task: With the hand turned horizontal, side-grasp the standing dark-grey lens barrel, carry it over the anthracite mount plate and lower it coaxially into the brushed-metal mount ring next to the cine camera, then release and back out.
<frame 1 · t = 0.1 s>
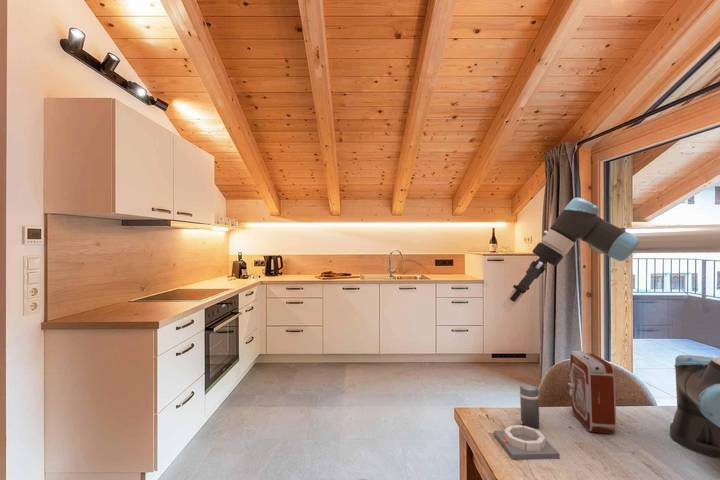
hand: (507, 306, 107), 36 cm above the table, tool tilted 35°, fingers open, 13 cm apart
mount plate: (524, 445, 95), on the table
lens: (530, 425, 106), on the table
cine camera: (589, 420, 110), on the table
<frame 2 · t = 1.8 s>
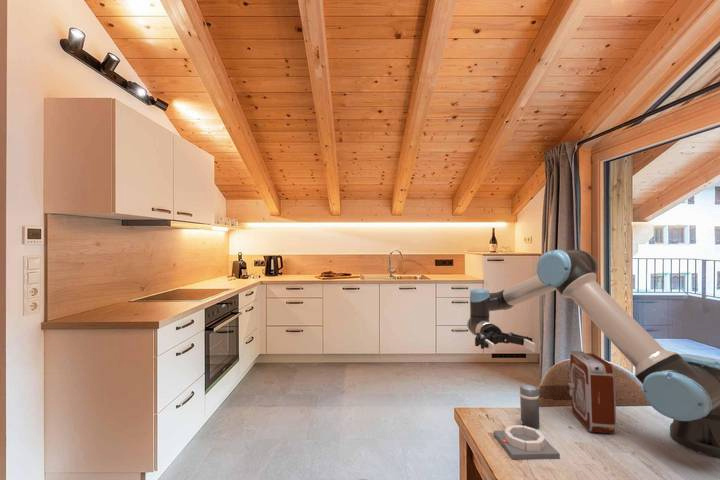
hand: (514, 348, 116), 21 cm above the table, tool horizontal, fingers open, 13 cm apart
nothing on the table moved.
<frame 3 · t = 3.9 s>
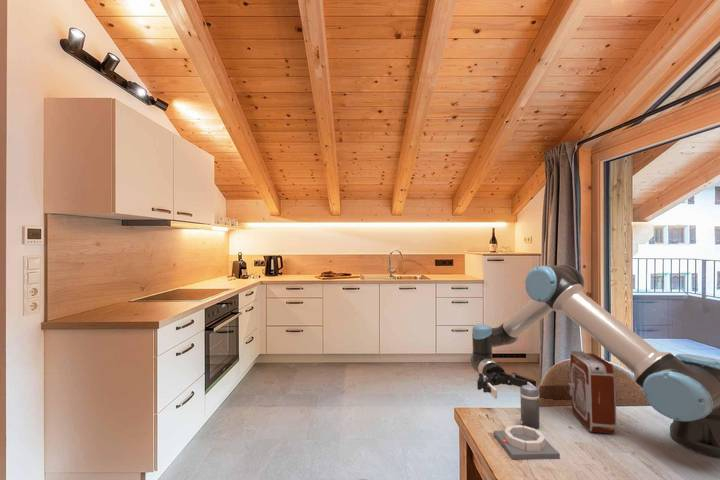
hand: (517, 394, 114), 6 cm above the table, tool horizontal, fingers open, 13 cm apart
nothing on the table moved.
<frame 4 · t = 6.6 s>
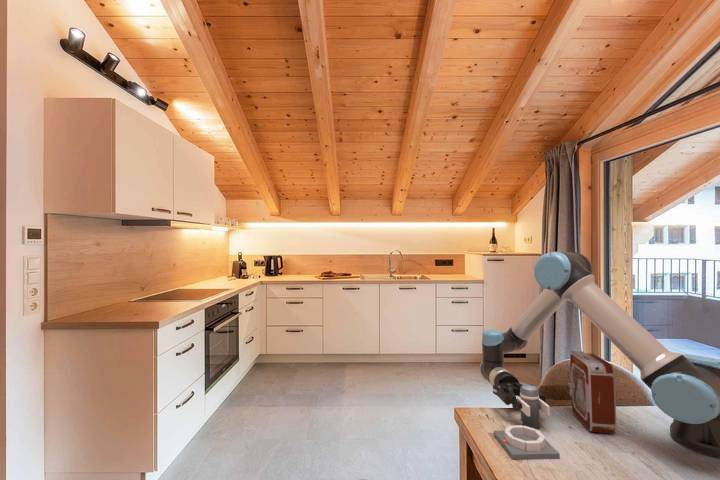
hand: (538, 411, 101), 7 cm above the table, tool horizontal, fingers closed on lens, 5 cm apart
lens: (530, 425, 106), on the table, touching gripper
everything else where it was.
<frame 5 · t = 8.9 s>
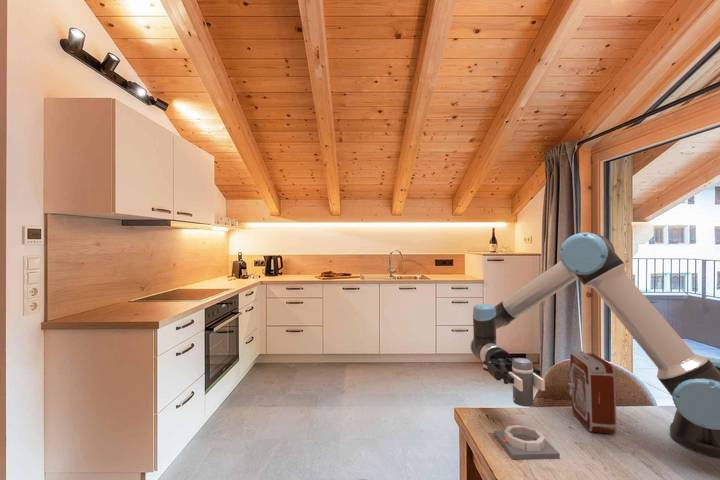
hand: (532, 385, 91), 18 cm above the table, tool horizontal, fingers closed on lens, 5 cm apart
lens: (523, 402, 96), point 11 cm above the table, touching gripper
everything else where it was.
when the fingers open (9 cm above the table, at t = 11.1 s): lens drops 1 cm, resting on mount plate.
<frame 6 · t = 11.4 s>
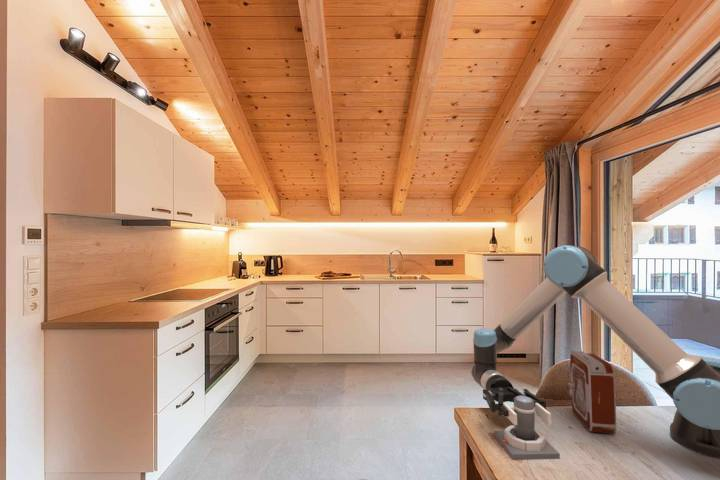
hand: (532, 419, 91), 9 cm above the table, tool horizontal, fingers open, 8 cm apart
lens: (524, 441, 95), point 1 cm above the table, touching mount plate
everything else where it was.
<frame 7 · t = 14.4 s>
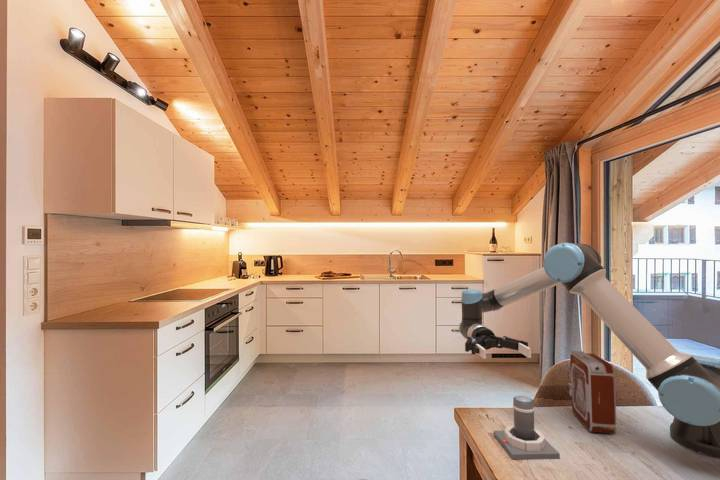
hand: (507, 353, 106), 22 cm above the table, tool horizontal, fingers open, 13 cm apart
nothing on the table moved.
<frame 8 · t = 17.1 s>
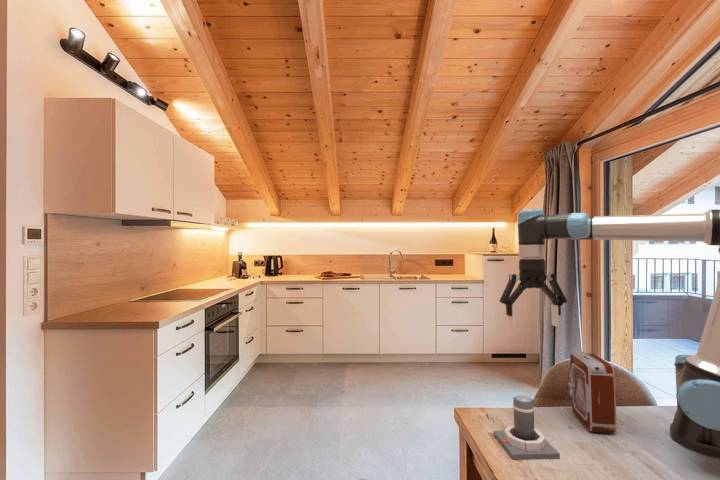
hand: (533, 326, 112), 29 cm above the table, tool pointing down, fingers open, 13 cm apart
nothing on the table moved.
at the end: lens 0.1 cm off-centre on the mount plate, point 1.2 cm above the mount plate's base; lens tilted 0°; the gripper is holding nothing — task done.
